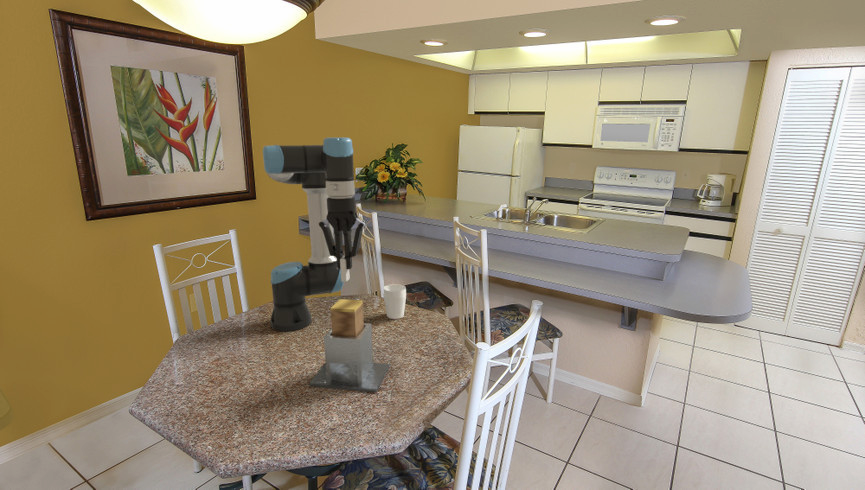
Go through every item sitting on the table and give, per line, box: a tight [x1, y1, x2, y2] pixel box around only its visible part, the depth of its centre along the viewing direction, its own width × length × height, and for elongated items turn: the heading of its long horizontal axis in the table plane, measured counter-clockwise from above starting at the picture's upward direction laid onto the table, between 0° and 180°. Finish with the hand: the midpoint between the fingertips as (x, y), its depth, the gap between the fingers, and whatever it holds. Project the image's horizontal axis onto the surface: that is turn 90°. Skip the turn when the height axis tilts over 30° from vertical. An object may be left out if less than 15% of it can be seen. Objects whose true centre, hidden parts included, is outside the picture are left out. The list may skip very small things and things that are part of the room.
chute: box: [308, 322, 390, 394], centre depth 126 cm, size 20×14×15 cm
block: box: [330, 298, 365, 337], centre depth 124 cm, size 7×7×14 cm
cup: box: [382, 283, 407, 320], centre depth 170 cm, size 9×9×12 cm
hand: (345, 279), depth 121 cm, fingers closed
